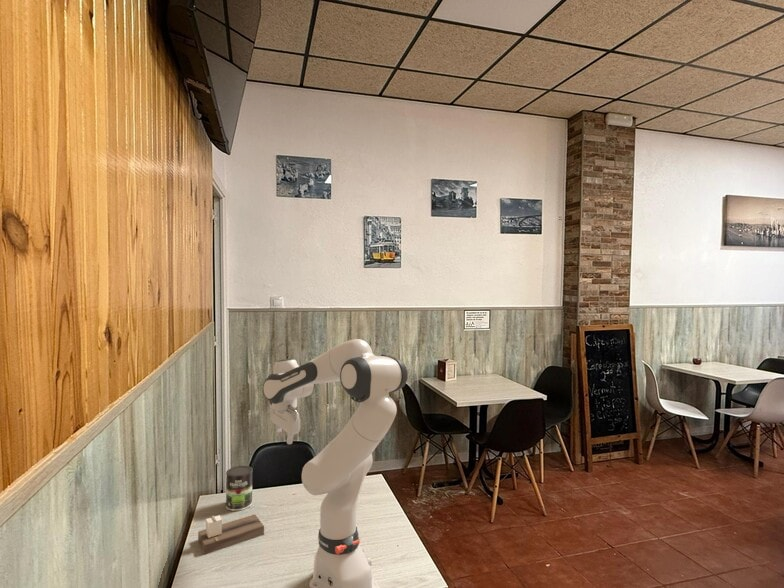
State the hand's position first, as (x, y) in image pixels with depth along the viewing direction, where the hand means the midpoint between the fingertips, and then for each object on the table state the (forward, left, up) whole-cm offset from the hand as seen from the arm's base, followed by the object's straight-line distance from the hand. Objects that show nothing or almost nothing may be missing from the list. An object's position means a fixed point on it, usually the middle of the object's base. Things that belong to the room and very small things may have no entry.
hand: (284, 439), depth 153 cm
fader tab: (+6, +23, -30) cm, 38 cm away
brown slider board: (+6, +17, -33) cm, 38 cm away
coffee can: (+28, +8, -33) cm, 44 cm away
